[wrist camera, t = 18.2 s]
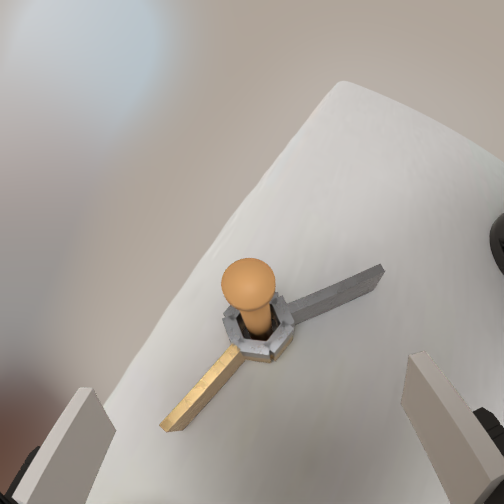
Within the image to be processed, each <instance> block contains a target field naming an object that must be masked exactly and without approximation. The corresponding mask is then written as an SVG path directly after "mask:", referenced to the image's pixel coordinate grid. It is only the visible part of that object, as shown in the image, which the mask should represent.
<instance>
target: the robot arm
mask: <svg viewBox="0 0 504 504" xmlns="http://www.w3.org/2000/svg"><path fill="white" fill-rule="evenodd" d="M490 244H491V249H492V253H493V256H494V258H495V260H496V263H497V265H498V266H499V268H500V270H501V271H502V273H503V274H504V213H503V214H502V215H501V216H500V217H499V218H498V219H497V220H496V221H495V223H494V224H493V226H492V228H491V232H490ZM401 405H402V407H403V409H404V410H405V412H406V414H407V416H408V418H409V420H410V422H411V424H412V426H413V427H414V429H415V431H416V433H417V435H418V437H419V439H420V441H421V443H422V445H423V447H424V449H425V451H426V453H427V455H428V457H429V459H430V461H431V463H432V465H433V467H434V469H435V471H436V473H437V475H438V478H439V480H440V482H441V484H442V486H443V488H444V490H445V492H446V495H447V497H448V499H449V501H450V503H451V504H483V503H484V504H504V428H503V426H502V425H500V422H499V421H498V420H497V418H496V417H495V416H494V414H493V413H491V412H489V411H488V410H486V409H485V408H483V407H482V408H479V409H477V410H475V411H473V412H472V411H471V410H470V408H469V407H468V405H467V404H466V403H465V401H464V400H463V399H462V397H461V396H460V395H459V393H458V392H457V391H456V389H455V388H454V387H453V385H452V384H451V383H450V382H449V380H448V379H447V378H446V376H445V375H444V374H443V372H442V371H441V370H440V369H439V367H438V366H437V365H436V364H435V362H434V361H433V360H432V359H431V357H430V356H429V355H428V354H427V352H426V351H422V352H418V353H415V354H411V355H409V358H408V365H407V372H406V378H405V384H404V389H403V395H402V400H401ZM115 432H116V429H115V428H114V426H113V424H112V422H111V421H110V419H109V417H108V415H107V414H106V412H105V410H104V408H103V406H102V405H101V403H100V401H99V399H98V397H97V395H96V393H95V391H94V389H93V388H82V387H80V388H79V389H78V390H77V392H76V393H75V395H74V396H73V398H72V399H71V401H70V402H69V404H68V405H67V407H66V408H65V410H64V411H63V413H62V414H61V416H60V418H59V419H58V421H57V422H56V424H55V425H54V427H53V429H52V430H51V432H50V433H49V435H48V436H47V438H46V440H45V441H44V443H43V445H42V446H41V447H40V446H38V447H36V448H35V449H34V450H33V451H32V452H31V453H30V454H29V455H28V457H27V459H26V460H25V464H23V465H22V467H21V470H20V471H19V472H18V474H17V475H16V477H15V479H14V480H13V482H12V484H11V485H10V487H9V489H8V491H7V492H6V494H5V495H3V494H2V493H1V492H0V504H85V503H86V500H87V498H88V495H89V493H90V490H91V488H92V486H93V483H94V481H95V478H96V476H97V474H98V471H99V469H100V467H101V464H102V462H103V460H104V457H105V455H106V453H107V450H108V448H109V446H110V444H111V441H112V439H113V437H114V435H115Z"/></svg>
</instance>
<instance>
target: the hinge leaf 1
mask: <svg viewBox="0 0 504 504" xmlns="http://www.w3.org/2000/svg"><path fill="white" fill-rule="evenodd" d="M270 313H271V319H274V321H275V323H276V326H277V328H278V327H279V325H278V323H277V320H276V318H275V316H274V313H273V312H270ZM239 326H240V329H241V332H242V331H243V329H244V328H245V327H246V325H245V323H244V320H243V321H242V322H241V323H240V325H239ZM242 334H243V333H242ZM243 337H244V335H243ZM244 339H245V338H244ZM292 340H293V335H292V337H291V338H290V339H289V340H288V342H287V343H286V344H285V345H284V347H283V348H282V349H281V350H280V352H279V353H278V354H277V355H276V357H274V356H272V355H271V356H270V359H263V358H256V357H249V356H243V355H242V354H241V352H240V351H239V350H238V349H240V348H238V347H237V346H235V345H233V344H234V343H232V345H230V347H229V348H228V349H227V350H226V351H225V352H224V353H223V355H222V356H221V357H220V358H219V359H218V360H217V362H216V363H215V364H214V365H213V366H212V367H211V368H210V369H209V371H208V372H207V373H206V374H205V375H204V376H203V377H202V378H201V380H200V381H199V382H198V383H197V384H196V385H195V386H194V387H193V389H192V390H191V391H190V392H189V393H188V394H187V395H186V396H185V397H184V398H183V400H182V401H181V402H180V403H179V404H178V405H177V406H176V407H175V408H174V409H173V411H172V412H171V413H170V414H169V415H168V416H167V417H166V418H165V419H164V420H163V421H162V422H161V423H160V425H159V426H160V427H161V428H162V429H164V430H165V431H166V432H173V431H181V430H183V429H184V428H185V427H186V426H187V425H188V424H189V423H190V422H191V421H192V420H193V419H194V417H195V416H196V415H197V414H198V413H199V412H200V411H201V410H202V409H203V408H204V407H205V405H206V404H207V403H208V402H209V401H210V400H211V399H212V398H213V397H214V395H215V394H216V393H217V392H218V391H219V390H220V389H221V388H222V386H223V385H224V384H225V383H226V382H227V381H228V380H229V378H230V377H231V376H232V375H233V374H234V373H235V371H236V370H237V369H238V368H239V367H240V366H241V364H242V363H243V362H244V361H245V360H251V361H258V362H266V363H271V359H273V360H274V361H276V360H277V359H278V358H279V356H280V355H281V354H282V353H283V351H284V350H285V349H286V348H287V346H288V345H289V344H290V342H291V341H292ZM232 346H233V347H232ZM240 350H241V349H240Z"/></svg>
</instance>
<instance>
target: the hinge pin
mask: <svg viewBox="0 0 504 504" xmlns="http://www.w3.org/2000/svg"><path fill="white" fill-rule="evenodd" d="M221 287H222V291H223V294H224V296H225V298H226V300H227V301H228V303H229V304H230V305H231V306H233V307H234V308H236V309H238V310H240V313H241V315H242V318H243V320H244V323H245V325H246V328H247V330H248V332H249V335H250V337H251V339H252V340H259V341H267V340H268V339H269V338H270V336H271V335H272V334H273V330H272V321H271V313H270V305H269V302H270V301H271V299H272V298H273V296H274V293H275V287H276V286H275V276H274V273H273V271H272V269H271V268H270V267H269V266H268V265H267V264H266V263H265V262H263V261H261V260H258V259H254V258H244V259H240V260H238V261H236V262H234V263H232V264H231V265H230V266H229V267H228V268H227V269H226V270H225V272H224V274H223V277H222V281H221Z"/></svg>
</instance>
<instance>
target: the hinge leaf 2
mask: <svg viewBox="0 0 504 504" xmlns="http://www.w3.org/2000/svg"><path fill="white" fill-rule="evenodd" d="M384 272H385V271H384V269H383V267H382V266H381V264H379V265H376V266H374V267H372V268H370V269H368V270H366V271H363V272H361V273H359V274H357V275H354V276H352V277H350V278H348V279H345V280H343V281H341V282H339V283H336V284H334V285H332V286H329V287H327V288H325V289H322V290H320V291H318V292H315V293H313V294H310V295H308V296H306V297H303V298H301V299H298V300H296V301H293V302H291V303H289V304H286V302H285V300H284V298H283V296H280V297H278V292H275V293H274V296H273V298H272V299H271V301H270V302H269V305H270V312H273V313H274V316H275V318H276V320H277V323H278V325H279V327H278V328H277V329H276V330H275V332H274V333H273V334H272V335H271V336H270V338H269V339H268V340H267V341H259V340H252V339H244V337H243V334H242V332H241V329H240V326H239V325H240V323H241V322H242V321H243V318H242V315H241V313H240V310H238V309H236V308H234V307H233V306H231V305H230V306H229V307H228V309H227V310H226V311H225V312H224V313H223V314H224V316H225V318H223V319H222V320H223V323H224V326H225V328H226V331H227V334H228V337H229V339H230V342H231V345H232V343H234V344H233V345H235V346H237V347H238V348H240V349H241V350H240V349H238V350H239V351H240V352H241V354H242V355H243V356H249V357H256V358H263V359H270V356H271V355H272V356H274V357H276V355H277V354H278V353H279V352H280V350H281V349H282V348H283V347H284V345H285V344H286V343H287V342H288V340H289V339H290V338H291V337H292V335H293V333H294V325H296V324H299V323H301V322H303V321H306V320H308V319H310V318H313V317H315V316H317V315H320V314H322V313H324V312H327V311H329V310H331V309H333V308H336V307H338V306H340V305H342V304H344V303H347V302H349V301H351V300H353V299H355V298H357V297H360V296H362V295H364V294H366V293H368V292H370V291H372V290H374V288H375V286H376V285H377V283H378V282H379V280H380V279H381V277H382V276H383V274H384ZM232 347H233V346H232Z"/></svg>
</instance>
